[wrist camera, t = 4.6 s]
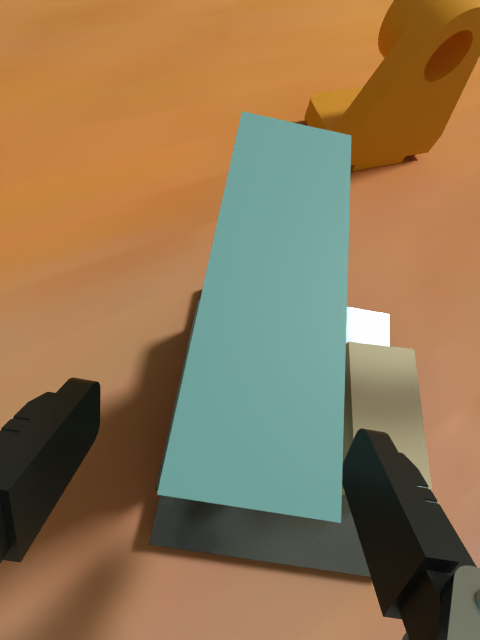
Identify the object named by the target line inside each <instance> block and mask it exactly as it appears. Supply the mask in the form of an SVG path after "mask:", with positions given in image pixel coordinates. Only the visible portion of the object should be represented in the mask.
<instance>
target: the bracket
mask: <svg viewBox="0 0 480 640" xmlns="http://www.w3.org/2000/svg"><path fill="white" fill-rule="evenodd" d="M378 46H379V50H380V52H381V54H382V55H383V57H384V58H385V59H384V60H383V61H382V63H381V64H380V65H379V67H378V68H377V69H376V71H375V72H374V74H373V75H372V76H371V78H370V79H369V80H368V82H367V83H366V84H365V86H364V87H363V88H354V89H345V90H337V91H328V92H319V93H314V94H313V95H312V96H311V99H310V102H309V105H308V108H307V111H306V114H305V121H306V123H307V125H308V126H311V127H315V128H320V129H324V130H329V131H334V132H338V133H343V134H347V135H351V171H357V170H363V169H368V168H374V167H380V166H385V165H391V164H397V163H401V162H402V161H403V159H404V158H405V157H406V156H409V155H415V154H421V153H427V152H428V151H429V150H430V149H431V148H432V146H433V145H434V144H435V143H436V141H437V140H438V139H439V137H440V136H441V135H442V133H443V131H444V129H445V127H446V124H447V122H448V120H449V118H450V116H451V114H452V112H453V110H454V108H455V106H456V104H457V102H458V99H459V97H460V95H461V93H462V91H463V89H464V87H465V85H466V83H467V81H468V79H469V77H470V75H471V72H472V70H473V68H474V66H475V64H476V62H477V60H478V58H479V56H480V0H394V1H393V3H392V4H391V6H390V8H389V10H388V11H387V13H386V15H385V17H384V20H383V22H382V25H381V28H380V32H379V38H378Z"/></svg>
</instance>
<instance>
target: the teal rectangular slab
mask: <svg viewBox="0 0 480 640" xmlns="http://www.w3.org/2000/svg"><path fill="white" fill-rule="evenodd" d="M350 170H351V135H347V134H343V133H338V132H334V131H329V130H324V129H320V128H315V127H311V126H306V125H302V124H297V123H292V122H288V121H283V120H279V119H274V118H270V117H265V116H261V115H256V114H251V113H247V112H242V114H241V118H240V123H239V127H238V132H237V136H236V141H235V145H234V150H233V154H232V159H231V163H230V168H229V172H228V177H227V181H226V186H225V190H224V195H223V199H222V204H221V208H220V213H219V217H218V222H217V226H216V231H215V235H214V240H213V244H212V249H211V253H210V258H209V262H208V267H207V271H206V276H205V280H204V285H203V290H202V294H201V299H200V303H199V308H198V312H197V317H196V321H195V326H194V330H193V335H192V339H191V344H190V348H189V353H188V357H187V362H186V366H185V371H184V375H183V380H182V384H181V389H180V393H179V398H178V402H177V407H176V411H175V416H174V420H173V425H172V429H171V434H170V438H169V443H168V447H167V452H166V456H165V461H164V465H163V470H162V474H161V479H160V483H159V488H158V492H157V495H163V496H169V497H176V498H182V499H189V500H195V501H202V502H208V503H215V504H221V505H228V506H234V507H241V508H247V509H254V510H260V511H267V512H273V513H280V514H286V515H293V516H299V517H306V518H312V519H319V520H325V521H332V522H338V523H341V506H342V469H343V432H344V394H345V357H346V320H347V282H348V245H349V207H350Z"/></svg>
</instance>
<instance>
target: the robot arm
mask: <svg viewBox="0 0 480 640" xmlns="http://www.w3.org/2000/svg"><path fill="white" fill-rule="evenodd" d="M99 425H100V384H99V382H96V381H90V380H84V379H78V378H70V379H69V380H68V381H67V382H66V383H65V384H64V385H63V386H62V387H61V388H60V389H59V390H58V391H57V392H56V393H52V392H46V393H44V394H42V395H41V396H39V397H37V398H35V399H33V400H31V401H29V402H28V403H27V404H26V405H25V406H24V407H23V408H22V409H21V410H20V411H19V412H18V413H17V414H16V415H15V416H14V418H13V419H10V420H9V421H8V422H7V423H6V424H5V425H4V426H3V427H2V429H1V431H0V563H1V561H2V560H8V561H15V562H21V561H22V559H23V557H24V556H25V554H26V552H27V551H28V549H29V547H30V546H31V544H32V543H33V541H34V539H35V538H36V536H37V534H38V533H39V531H40V529H41V528H42V526H43V525H44V523H45V521H46V520H47V518H48V516H49V515H50V513H51V511H52V510H53V508H54V507H55V505H56V503H57V502H58V500H59V498H60V497H61V495H62V493H63V492H64V490H65V489H66V487H67V485H68V484H69V482H70V480H71V479H72V477H73V475H74V474H75V472H76V471H77V469H78V467H79V466H80V464H81V462H82V461H83V459H84V457H85V456H86V454H87V453H88V451H89V449H90V448H91V446H92V444H93V443H94V441H95V438H96V436H97V433H98V430H99ZM342 485H343V488H344V491H345V494H346V498H347V501H348V504H349V507H350V511H351V514H352V517H353V520H354V524H355V527H356V530H357V533H358V537H359V540H360V543H361V546H362V550H363V553H364V556H365V559H366V563H367V566H368V569H369V572H370V575H371V579H372V582H373V585H374V588H375V592H376V595H377V598H378V601H379V605H380V608H381V611H382V614H383V617H390V618H397V619H402V620H403V623H404V626H405V629H406V633H405V635H404V636H403V639H402V640H480V568H477V566H476V565H475V563H474V562H473V560H472V558H471V557H470V555H469V553H468V552H467V550H466V548H465V547H464V545H463V543H462V542H461V540H460V538H459V536H458V535H457V533H456V531H455V530H454V528H453V526H452V525H451V523H450V521H449V520H448V518H447V516H446V515H445V513H444V511H443V510H442V508H441V506H440V504H437V499H436V498H435V496H434V494H433V493H432V491H431V489H428V484H427V483H426V481H425V479H424V478H423V476H422V474H421V473H420V471H419V469H418V468H417V467H416V466H415V465H414V464H413V463H412V462H411V461H410V460H409V459H408V458H407V457H406V456H405V455H404V454H403V453H400V452H398V450H397V449H396V447H395V445H394V443H393V441H392V440H391V438H390V436H389V435H388V434H387V433H385V432H381V431H375V430H369V429H363V428H361V429H359V430H358V431H357V433H356V435H355V437H354V439H353V442H352V444H351V446H350V448H349V451H348V453H347V455H346V457H345V459H344V462H343V469H342Z"/></svg>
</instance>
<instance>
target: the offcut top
mask: <svg viewBox="0 0 480 640" xmlns="http://www.w3.org/2000/svg"><path fill="white" fill-rule="evenodd" d="M361 428H363V429H369V430H375V431H381V432H385V433H387V434H388V435H389V436H390V438H391V440H392V441H393V443H394V445H395V447H396V449H397V450H398V452H400V453H403V454H404V455H405V456H406V457H407V458H408V459H409V460H410V461H411V462H412V463H413V464H414V465H415V466H416V467H417V468H418V469H419V471H420V473H421V474H422V476H423V478H424V479H425V481H426V483H427V484H428V489H431V491H432V487H431V479H430V471H429V463H428V455H427V448H426V440H425V432H424V424H423V416H422V408H421V400H420V392H419V384H418V377H417V369H416V361H415V353H414V349H409V348H400V347H391V346H383V345H374V344H366V343H357V342H347V343H346V357H345V394H344V432H343V462H344V459H345V457H346V455H347V453H348V451H349V448H350V446H351V444H352V442H353V439H354V437H355V435H356V433H357V431H358V430H359V429H361ZM342 488H343V485H342Z"/></svg>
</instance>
